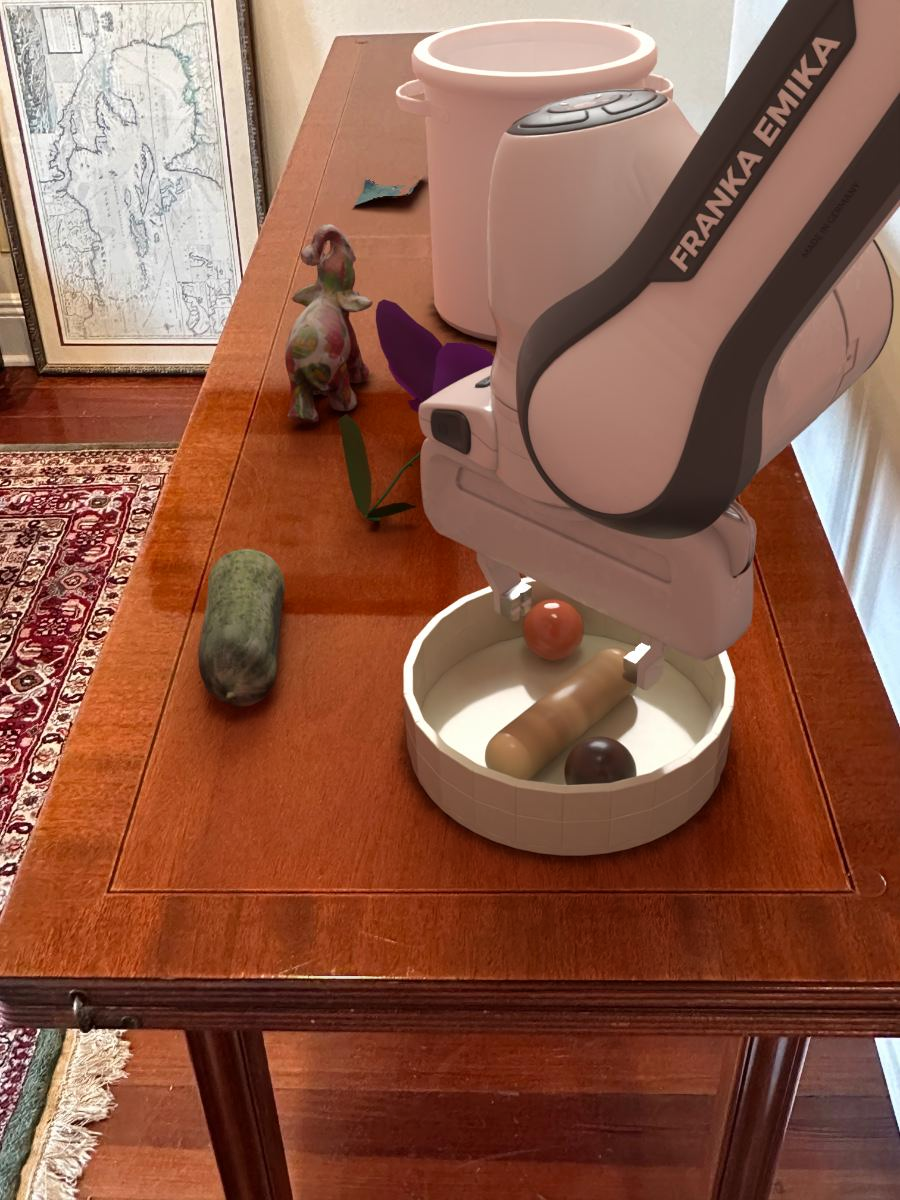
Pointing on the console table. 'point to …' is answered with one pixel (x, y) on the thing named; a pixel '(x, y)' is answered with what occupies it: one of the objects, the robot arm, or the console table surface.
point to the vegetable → (241, 627)
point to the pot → (501, 126)
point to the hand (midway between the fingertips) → (575, 645)
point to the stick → (560, 716)
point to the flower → (421, 375)
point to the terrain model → (378, 191)
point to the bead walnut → (599, 762)
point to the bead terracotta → (553, 629)
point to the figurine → (326, 330)
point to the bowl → (545, 802)
